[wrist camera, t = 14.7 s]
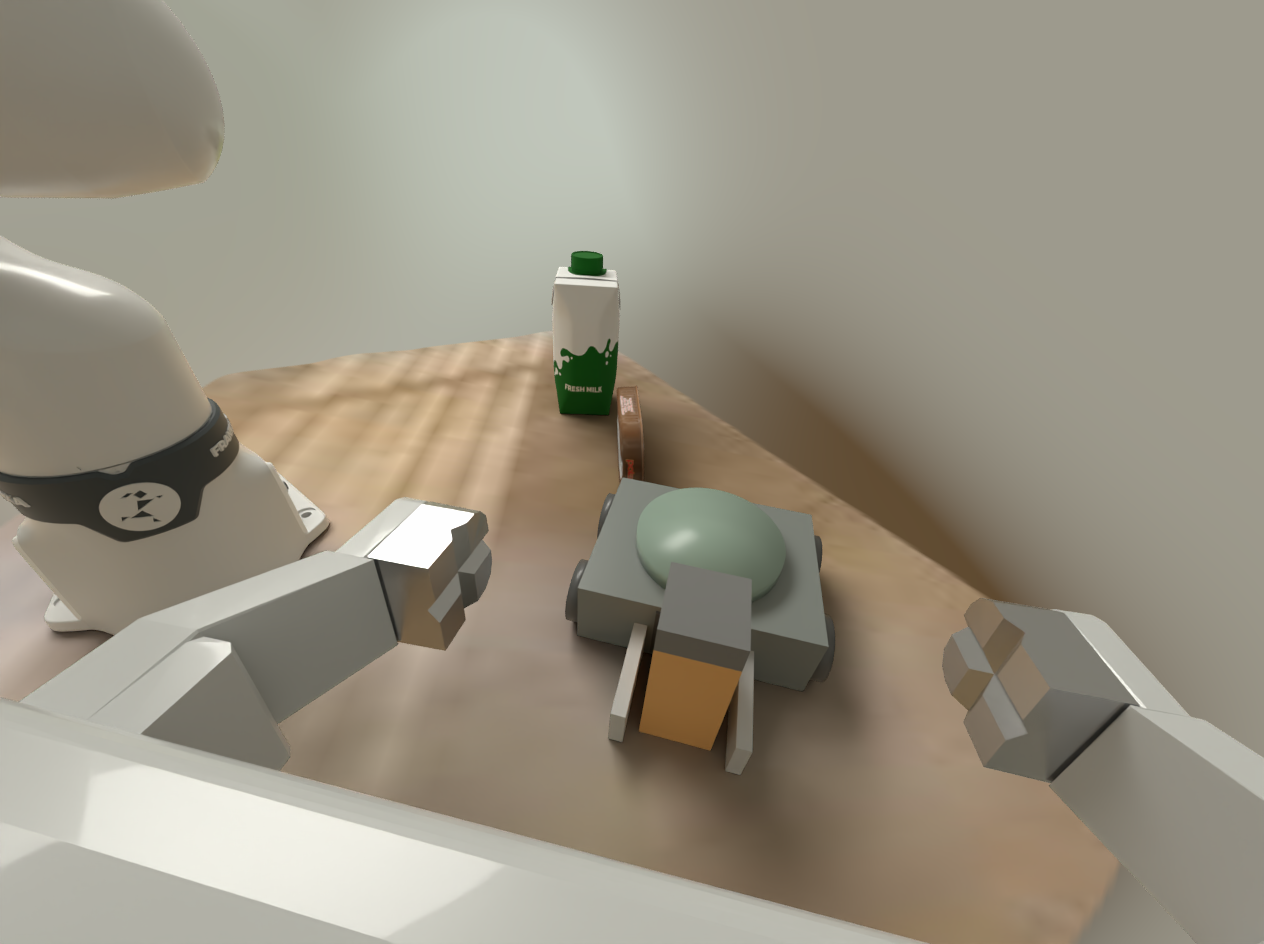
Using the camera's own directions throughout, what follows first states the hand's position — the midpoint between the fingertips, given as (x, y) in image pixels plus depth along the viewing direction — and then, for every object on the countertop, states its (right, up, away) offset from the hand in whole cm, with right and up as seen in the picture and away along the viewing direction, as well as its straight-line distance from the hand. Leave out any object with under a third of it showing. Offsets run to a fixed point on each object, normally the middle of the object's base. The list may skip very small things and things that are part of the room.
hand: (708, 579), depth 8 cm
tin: (-2, +3, +50) cm, 50 cm away
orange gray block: (+2, -15, +26) cm, 30 cm away
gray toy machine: (+4, -11, +31) cm, 33 cm away
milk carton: (-8, +12, +61) cm, 63 cm away
